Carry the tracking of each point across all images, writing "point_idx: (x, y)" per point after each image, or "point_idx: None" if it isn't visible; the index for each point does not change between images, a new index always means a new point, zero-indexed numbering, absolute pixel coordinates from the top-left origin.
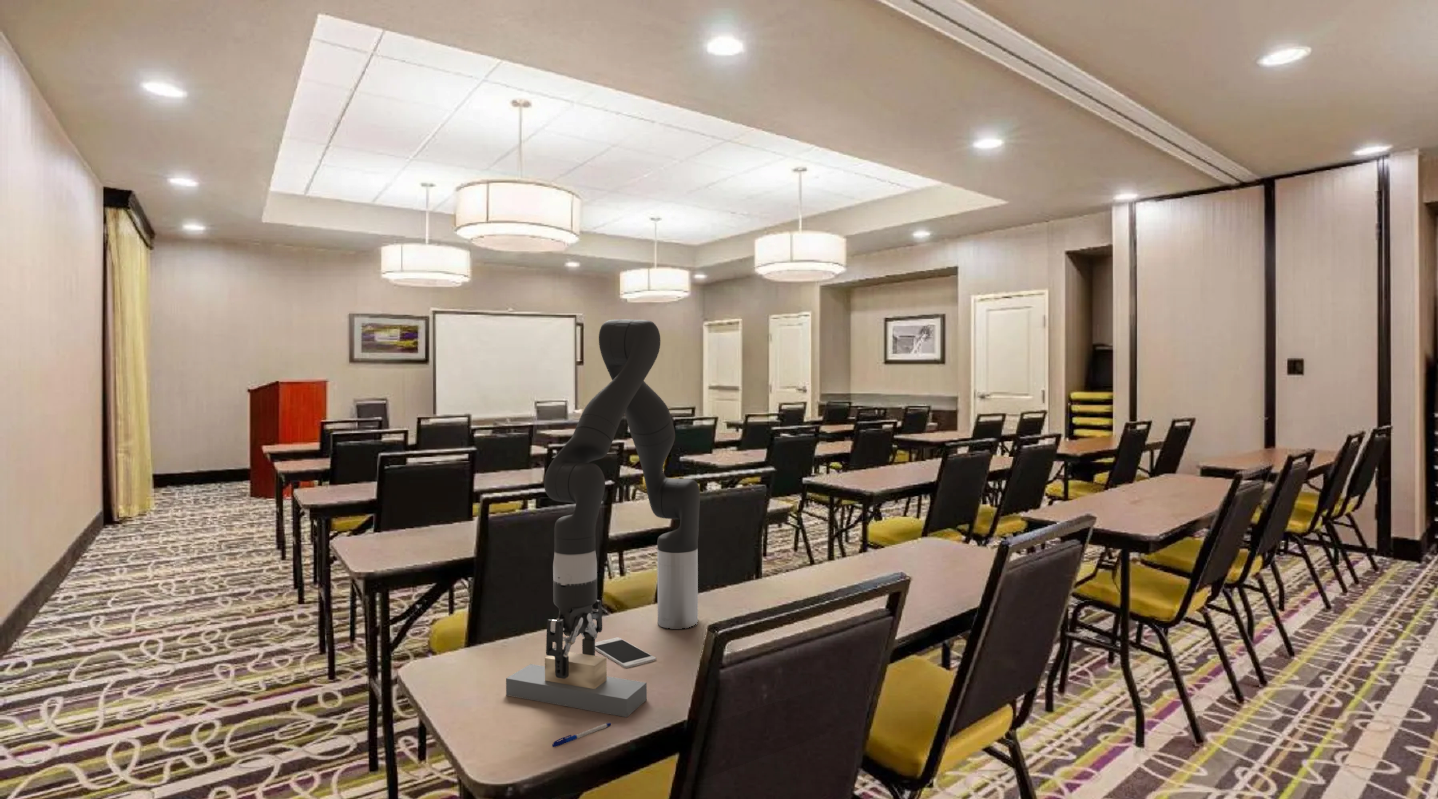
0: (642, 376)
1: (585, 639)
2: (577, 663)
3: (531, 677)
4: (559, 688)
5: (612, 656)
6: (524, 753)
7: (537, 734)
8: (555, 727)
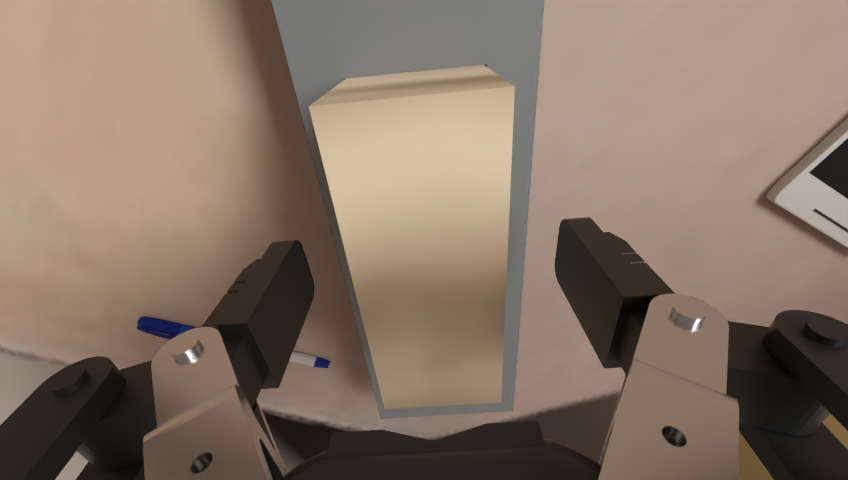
0: None
1: (624, 317)
2: (368, 338)
3: None
4: (326, 204)
5: None
6: (53, 283)
7: (143, 246)
8: (215, 263)
